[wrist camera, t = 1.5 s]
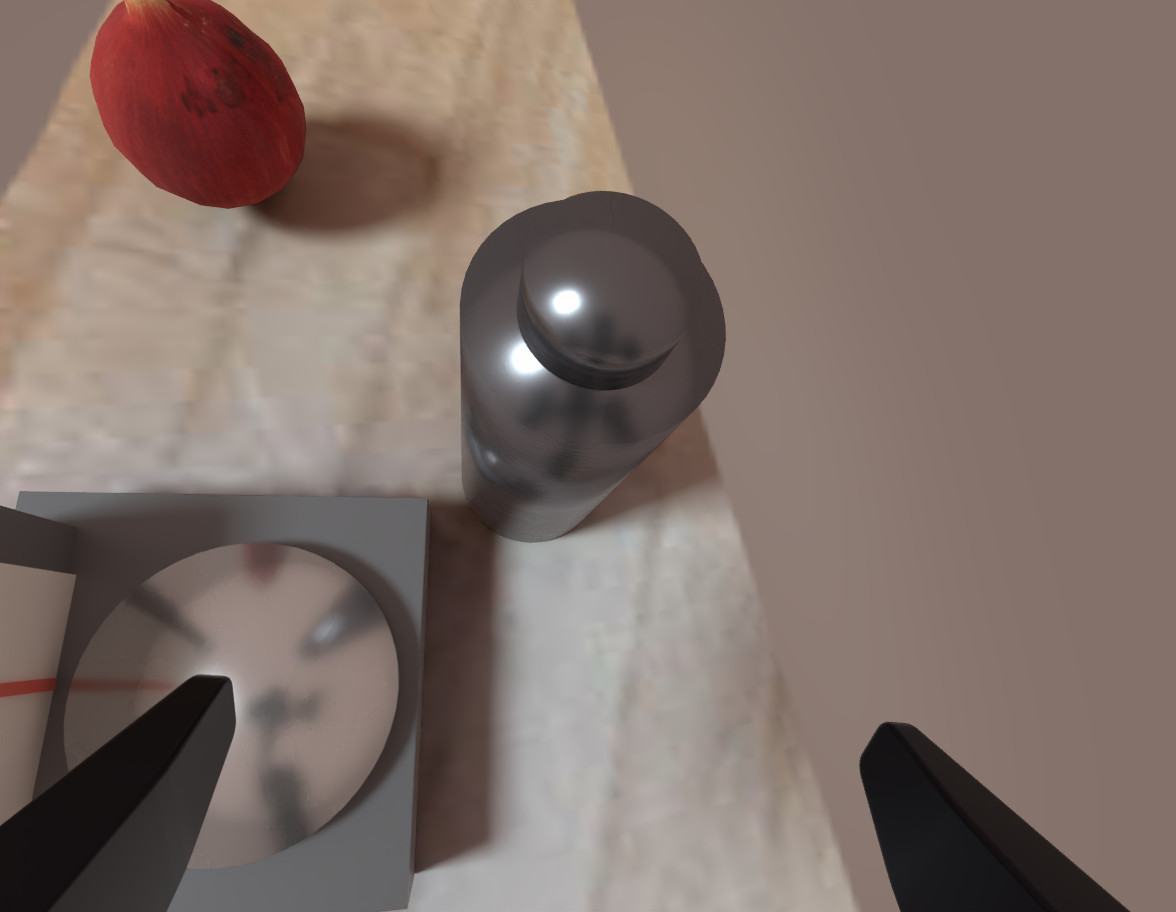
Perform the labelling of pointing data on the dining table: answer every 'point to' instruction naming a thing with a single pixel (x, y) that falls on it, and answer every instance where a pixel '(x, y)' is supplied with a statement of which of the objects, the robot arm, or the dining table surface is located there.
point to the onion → (197, 101)
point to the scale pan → (252, 686)
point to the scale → (145, 547)
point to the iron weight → (578, 356)
